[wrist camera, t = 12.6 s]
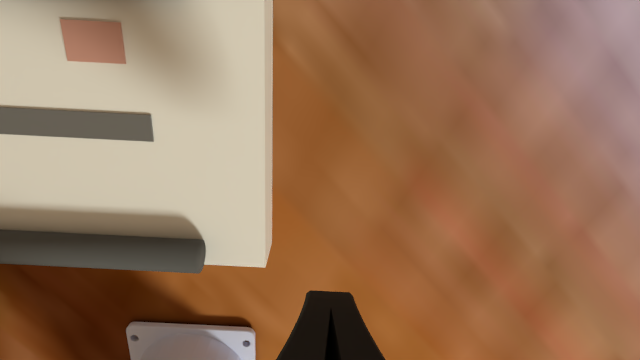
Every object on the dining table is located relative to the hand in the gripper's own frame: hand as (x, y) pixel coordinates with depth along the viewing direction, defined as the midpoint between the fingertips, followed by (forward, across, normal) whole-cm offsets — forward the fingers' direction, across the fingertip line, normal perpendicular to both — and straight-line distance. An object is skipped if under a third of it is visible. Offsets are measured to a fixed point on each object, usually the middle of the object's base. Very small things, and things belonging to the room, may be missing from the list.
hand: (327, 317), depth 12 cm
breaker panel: (+9, +16, -4) cm, 19 cm away
